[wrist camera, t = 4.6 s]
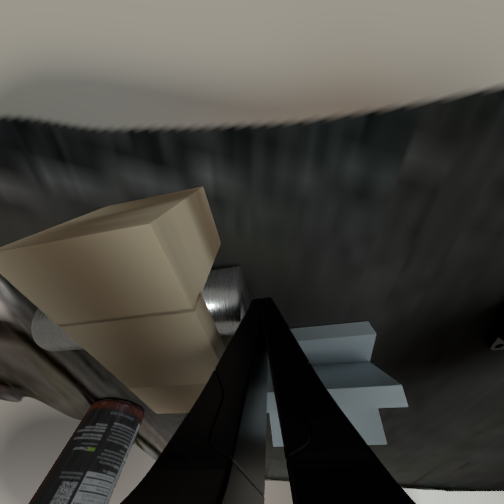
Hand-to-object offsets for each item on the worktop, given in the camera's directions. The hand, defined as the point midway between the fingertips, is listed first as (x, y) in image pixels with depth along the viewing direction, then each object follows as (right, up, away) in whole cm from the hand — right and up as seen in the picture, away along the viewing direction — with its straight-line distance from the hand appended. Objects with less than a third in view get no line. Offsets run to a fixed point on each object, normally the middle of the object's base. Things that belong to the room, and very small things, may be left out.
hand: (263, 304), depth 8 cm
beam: (-4, +1, +3) cm, 5 cm away
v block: (+5, -7, +7) cm, 11 cm away
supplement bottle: (-16, -16, +13) cm, 26 cm away
